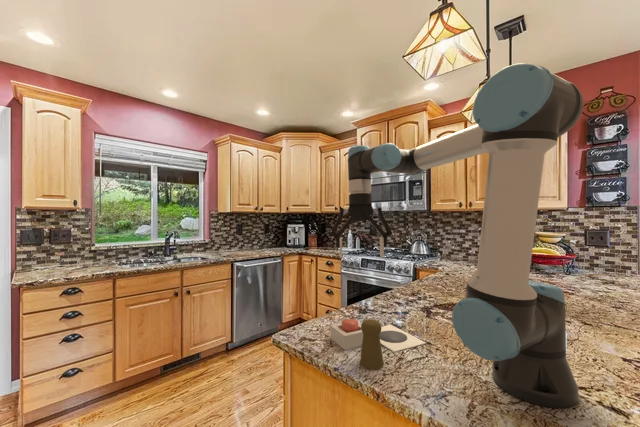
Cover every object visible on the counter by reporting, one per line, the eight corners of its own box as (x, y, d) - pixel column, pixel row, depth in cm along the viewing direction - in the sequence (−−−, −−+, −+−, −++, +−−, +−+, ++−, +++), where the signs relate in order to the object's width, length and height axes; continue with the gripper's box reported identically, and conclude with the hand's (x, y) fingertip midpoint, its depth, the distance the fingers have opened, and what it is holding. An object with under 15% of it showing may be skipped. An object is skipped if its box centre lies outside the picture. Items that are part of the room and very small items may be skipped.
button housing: (370, 343, 85) (370, 330, 85) (344, 350, 81) (344, 335, 81) (354, 332, 93) (354, 320, 93) (330, 338, 89) (330, 325, 89)
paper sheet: (426, 343, 84) (426, 342, 84) (394, 352, 79) (394, 351, 79) (391, 325, 99) (391, 324, 99) (362, 331, 94) (362, 330, 94)
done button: (361, 333, 86) (361, 323, 86) (347, 336, 84) (347, 326, 84) (352, 327, 90) (352, 317, 90) (339, 330, 88) (338, 320, 88)
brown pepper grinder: (383, 370, 70) (383, 325, 70) (359, 368, 71) (358, 324, 71) (383, 358, 76) (382, 317, 76) (360, 356, 77) (360, 316, 77)
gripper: (394, 193, 98) (396, 255, 97) (322, 195, 99) (324, 256, 98) (400, 191, 91) (402, 258, 90) (322, 193, 91) (323, 259, 91)
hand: (361, 257), depth 94 cm, fingers open, 13 cm apart
